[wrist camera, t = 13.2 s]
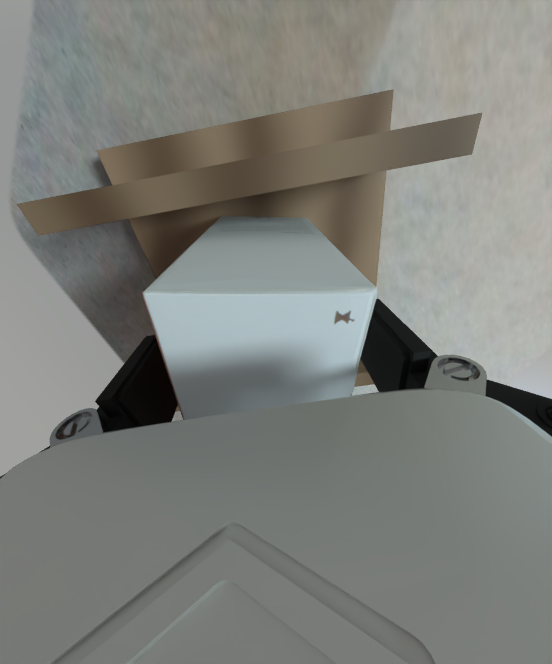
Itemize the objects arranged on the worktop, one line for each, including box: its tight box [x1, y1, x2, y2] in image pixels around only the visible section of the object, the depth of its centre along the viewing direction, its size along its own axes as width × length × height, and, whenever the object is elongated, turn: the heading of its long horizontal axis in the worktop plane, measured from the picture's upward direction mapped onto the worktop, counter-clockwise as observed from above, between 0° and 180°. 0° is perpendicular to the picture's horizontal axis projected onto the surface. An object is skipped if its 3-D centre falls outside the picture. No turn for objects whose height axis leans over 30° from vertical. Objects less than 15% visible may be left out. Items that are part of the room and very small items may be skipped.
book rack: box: [17, 90, 482, 412], centre depth 16 cm, size 18×18×9 cm
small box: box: [142, 216, 377, 420], centre depth 13 cm, size 8×6×13 cm
